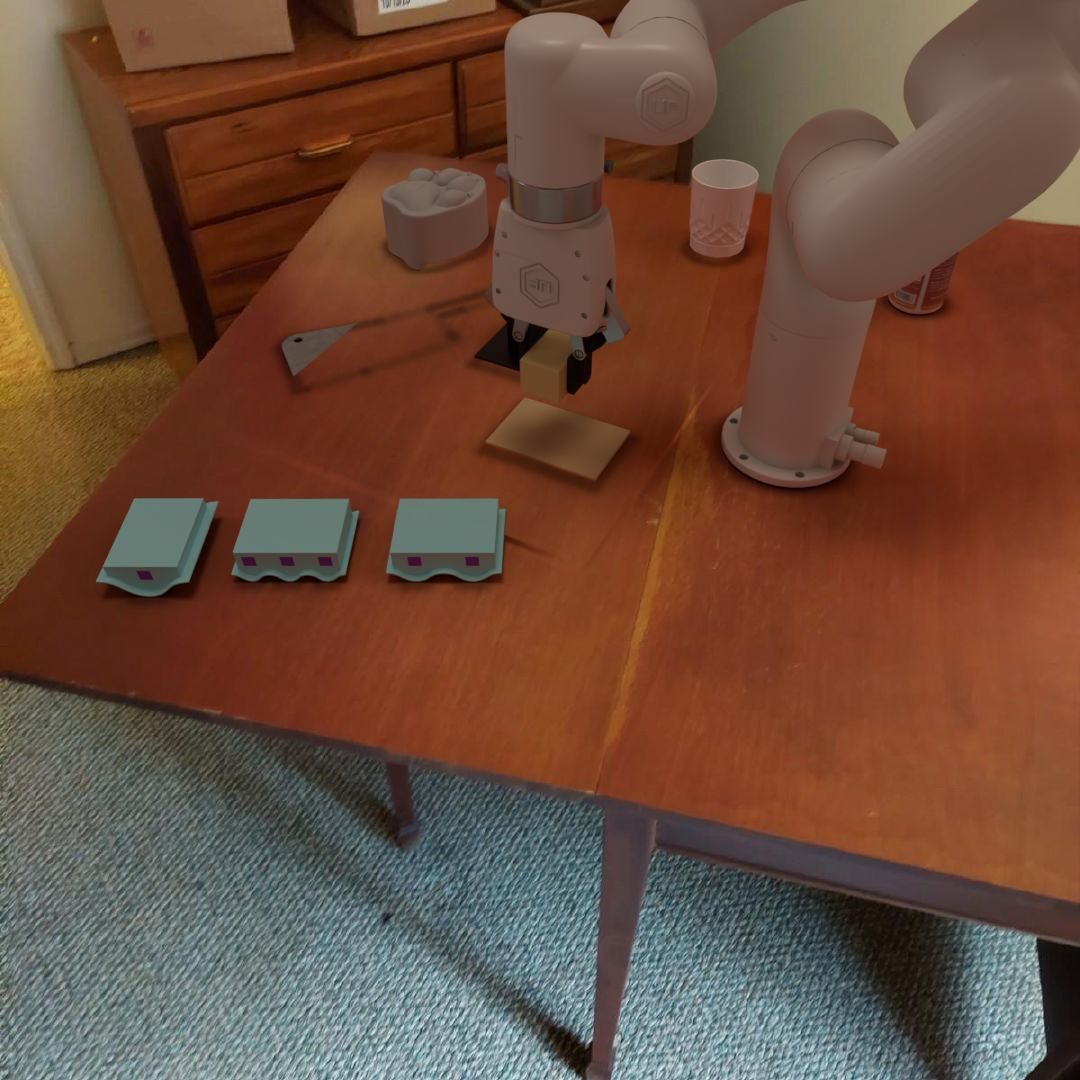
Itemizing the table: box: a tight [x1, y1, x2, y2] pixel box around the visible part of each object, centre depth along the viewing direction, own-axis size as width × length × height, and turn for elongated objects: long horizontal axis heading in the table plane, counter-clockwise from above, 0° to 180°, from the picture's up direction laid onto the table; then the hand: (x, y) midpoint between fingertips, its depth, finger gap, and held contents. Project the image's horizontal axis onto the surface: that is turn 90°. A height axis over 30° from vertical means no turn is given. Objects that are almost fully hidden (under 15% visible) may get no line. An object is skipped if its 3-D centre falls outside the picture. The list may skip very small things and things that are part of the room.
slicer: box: [474, 322, 549, 372], centre depth 102 cm, size 12×9×12 cm
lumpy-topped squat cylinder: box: [380, 167, 490, 271], centre depth 120 cm, size 10×13×9 cm
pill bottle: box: [887, 251, 960, 315], centre depth 108 cm, size 6×6×11 cm
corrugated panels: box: [95, 497, 507, 598], centre depth 84 cm, size 34×3×10 cm
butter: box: [519, 329, 572, 404], centre depth 88 cm, size 6×4×4 cm, turn 152°
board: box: [485, 396, 632, 482], centre depth 94 cm, size 12×8×1 cm, turn 62°
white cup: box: [688, 158, 760, 259], centre depth 117 cm, size 8×8×10 cm
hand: (554, 377), depth 89 cm, fingers closed on butter, 4 cm apart
